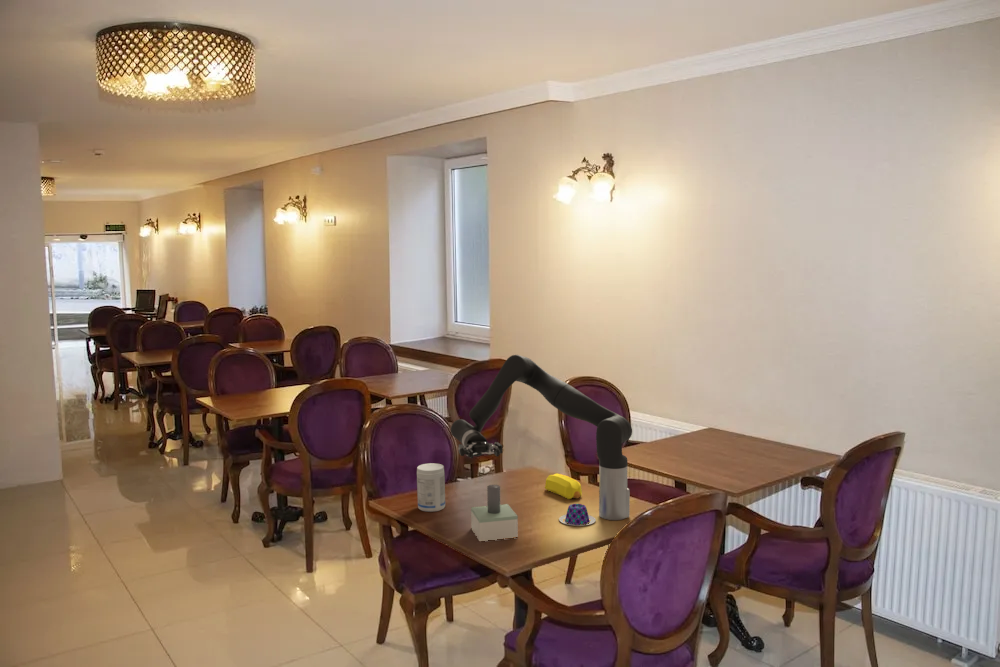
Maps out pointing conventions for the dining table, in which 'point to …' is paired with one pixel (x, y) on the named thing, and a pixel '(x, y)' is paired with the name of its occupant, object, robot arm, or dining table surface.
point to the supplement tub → (431, 487)
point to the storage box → (494, 529)
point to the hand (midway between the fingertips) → (485, 454)
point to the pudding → (577, 515)
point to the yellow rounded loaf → (563, 486)
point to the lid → (493, 508)
